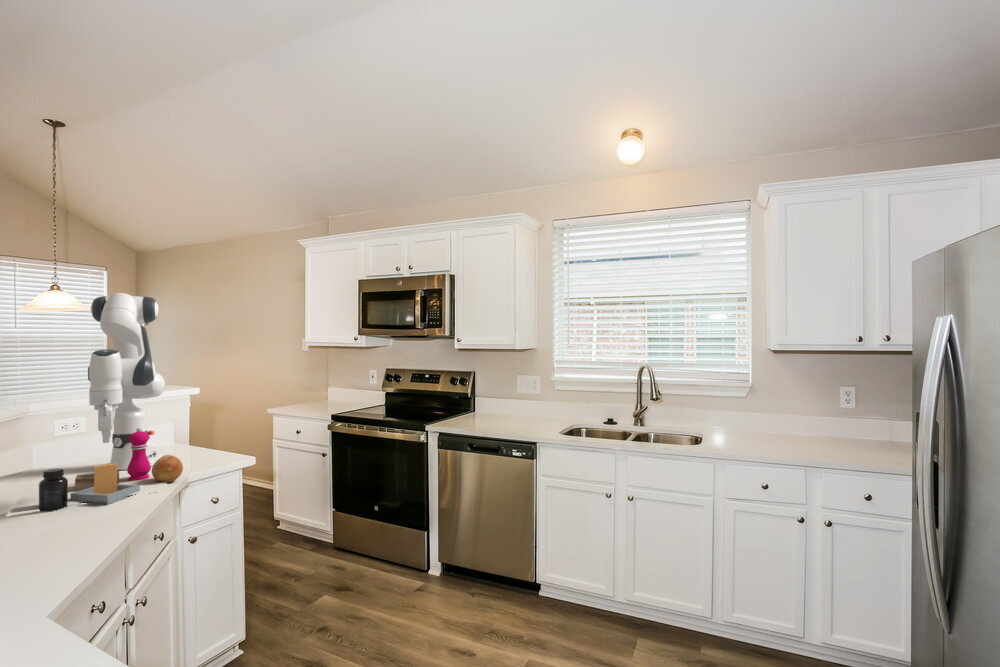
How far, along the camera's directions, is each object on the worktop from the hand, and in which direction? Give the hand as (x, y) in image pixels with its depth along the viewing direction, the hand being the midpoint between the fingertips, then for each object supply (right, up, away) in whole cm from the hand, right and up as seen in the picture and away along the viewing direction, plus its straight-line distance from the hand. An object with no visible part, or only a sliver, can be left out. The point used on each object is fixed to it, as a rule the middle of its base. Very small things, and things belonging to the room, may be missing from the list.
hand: (106, 439), depth 173 cm
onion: (+8, -20, +18) cm, 28 cm away
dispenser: (-11, -20, +11) cm, 25 cm away
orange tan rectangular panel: (0, -18, 0) cm, 18 cm away
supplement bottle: (-9, -20, -11) cm, 24 cm away
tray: (0, -19, -1) cm, 19 cm away
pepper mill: (-3, -20, +20) cm, 29 cm away
